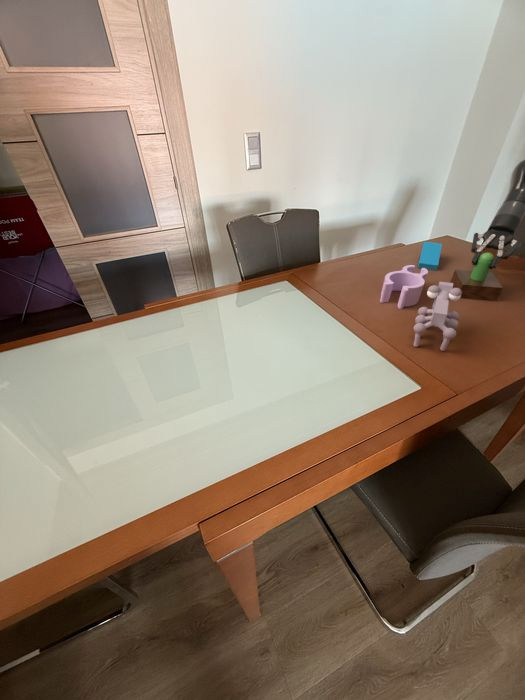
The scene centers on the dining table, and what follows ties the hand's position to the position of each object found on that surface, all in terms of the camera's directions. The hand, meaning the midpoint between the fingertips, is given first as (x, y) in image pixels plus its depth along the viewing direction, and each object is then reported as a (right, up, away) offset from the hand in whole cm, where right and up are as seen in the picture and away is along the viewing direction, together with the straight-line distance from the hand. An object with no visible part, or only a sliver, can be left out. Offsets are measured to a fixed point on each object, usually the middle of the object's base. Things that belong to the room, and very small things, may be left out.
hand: (482, 266), depth 101 cm
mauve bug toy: (-23, -23, -10) cm, 34 cm away
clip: (-23, -8, +7) cm, 26 cm away
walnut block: (+2, -7, +7) cm, 10 cm away
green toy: (+1, -3, +4) cm, 5 cm away
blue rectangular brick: (-3, +10, +28) cm, 30 cm away
